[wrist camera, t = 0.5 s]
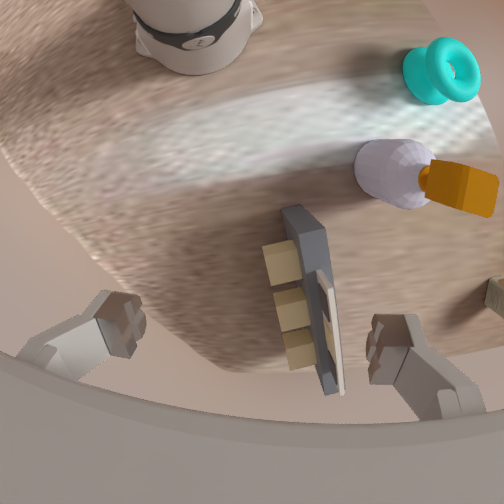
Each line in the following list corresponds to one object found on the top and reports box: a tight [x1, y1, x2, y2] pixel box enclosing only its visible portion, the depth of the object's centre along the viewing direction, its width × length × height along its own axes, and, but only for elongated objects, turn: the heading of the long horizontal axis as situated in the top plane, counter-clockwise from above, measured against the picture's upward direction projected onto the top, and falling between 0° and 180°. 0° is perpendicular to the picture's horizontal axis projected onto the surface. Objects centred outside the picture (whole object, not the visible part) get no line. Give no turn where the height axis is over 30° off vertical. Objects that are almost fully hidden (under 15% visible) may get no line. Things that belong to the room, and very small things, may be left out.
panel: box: [281, 205, 345, 396], centre depth 42 cm, size 24×3×19 cm, turn 13°
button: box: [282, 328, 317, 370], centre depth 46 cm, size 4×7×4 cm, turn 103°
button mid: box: [273, 287, 311, 332], centre depth 44 cm, size 4×7×4 cm, turn 103°
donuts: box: [403, 37, 481, 105], centre depth 37 cm, size 10×10×10 cm
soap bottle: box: [354, 139, 499, 218], centre depth 34 cm, size 9×9×25 cm
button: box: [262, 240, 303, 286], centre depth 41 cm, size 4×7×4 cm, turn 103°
